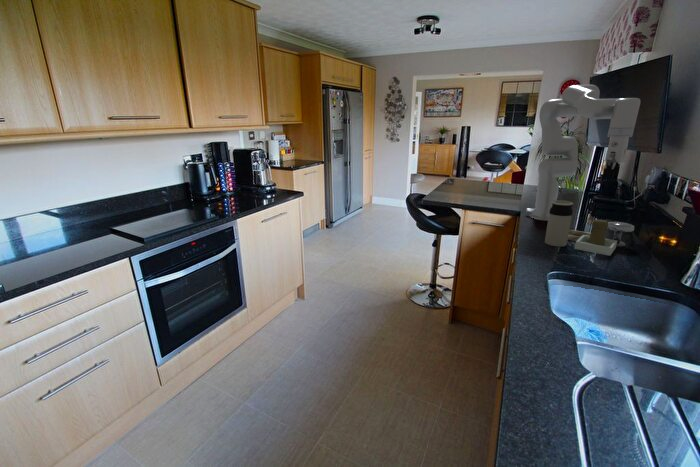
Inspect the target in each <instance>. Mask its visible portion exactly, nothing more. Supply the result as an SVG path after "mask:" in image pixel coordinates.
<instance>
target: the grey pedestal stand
mask: <svg viewBox="0 0 700 467" xmlns="http://www.w3.org/2000/svg"><path fill="white" fill-rule="evenodd" d="M607 222H608V227H607V228H606V230H611V231H613V232H614V233H613V238H612V240H616V241H617V245H616V248H618V247H619V248H620V247H621V248H623V247H625V246H626V242H624V241H621V239H622V235H623V233H631V232H634V230H635V225H633V224H631V223H627V222H622V221H607Z"/></svg>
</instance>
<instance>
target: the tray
mask: <svg viewBox="0 0 700 467" xmlns="http://www.w3.org/2000/svg"><path fill="white" fill-rule="evenodd" d="M579 237H580V238H579V239H578V240H577V241H575V244H574V249H575V250H580V251H584V252H589V253H594V254H599V255H604V256H612V254H613V253H614V251H615V249H616V248H617V246H616V245H617V241H616V240H613V239H609V238H605V246H601V245H595V244H590V243H587V242H586V241H585V239H586V240H587V241H588V240H589V237H590V236H587V235H582V236H579Z"/></svg>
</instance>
